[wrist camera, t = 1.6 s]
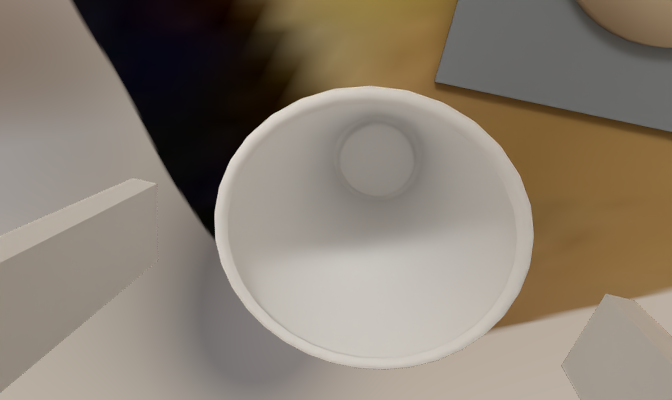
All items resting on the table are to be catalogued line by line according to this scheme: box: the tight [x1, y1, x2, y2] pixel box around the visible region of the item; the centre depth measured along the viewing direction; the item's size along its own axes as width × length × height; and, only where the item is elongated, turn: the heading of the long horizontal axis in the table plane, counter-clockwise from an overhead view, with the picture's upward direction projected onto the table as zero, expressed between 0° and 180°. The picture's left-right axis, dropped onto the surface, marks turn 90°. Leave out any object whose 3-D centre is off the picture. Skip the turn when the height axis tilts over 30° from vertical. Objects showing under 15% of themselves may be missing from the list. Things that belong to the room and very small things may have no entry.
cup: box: [215, 86, 534, 370], centre depth 16 cm, size 10×10×11 cm
